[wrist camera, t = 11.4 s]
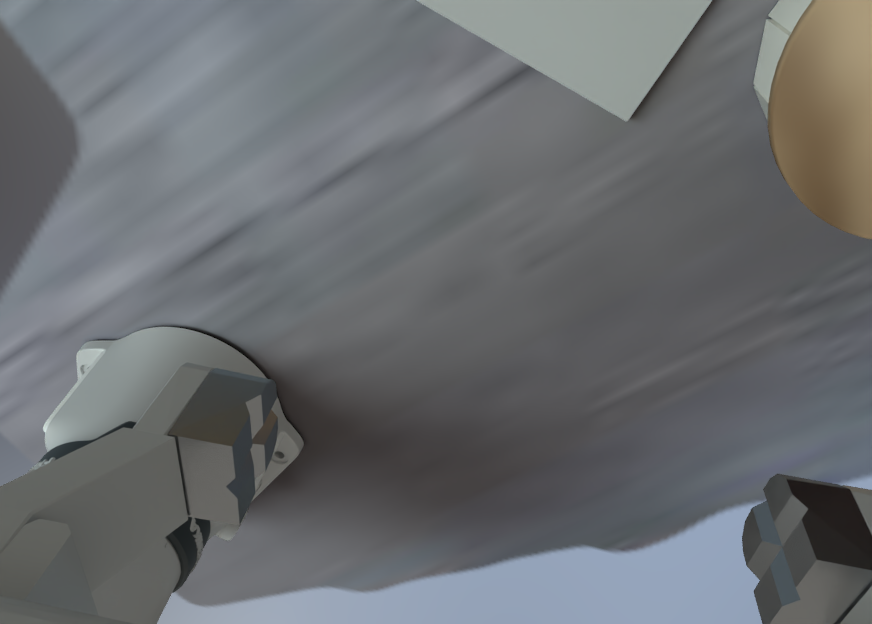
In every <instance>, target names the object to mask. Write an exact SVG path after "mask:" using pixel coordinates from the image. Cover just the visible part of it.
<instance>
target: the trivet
mask: <svg viewBox="0 0 872 624" xmlns="http://www.w3.org/2000/svg"><path fill="white" fill-rule="evenodd" d="M416 1H418V2H420V3H422V4H423V5H425V6H427V7H428V8H430V9H432V10H434V11H435V12H437V13H439V14H441V15H442V16H444V17H446V18H448V19H449V20H451V21H453V22H455V23H456V24H458V25H460V26H461V27H463V28H465V29H467V30H468V31H470V32H472V33H474V34H475V35H477V36H479V37H481V38H482V39H484V40H486V41H487V42H489V43H491V44H493V45H494V46H496V47H498V48H500V49H501V50H503V51H505V52H507V53H508V54H510V55H512V56H514V57H515V58H517V59H519V60H520V61H522V62H524V63H526V64H527V65H529V66H531V67H533V68H534V69H536V70H538V71H540V72H541V73H543V74H545V75H546V76H548V77H550V78H552V79H553V80H555V81H557V82H559V83H560V84H562V85H564V86H566V87H567V88H569V89H571V90H573V91H574V92H576V93H578V94H579V95H581V96H583V97H585V98H586V99H588V100H590V101H592V102H593V103H595V104H597V105H599V106H600V107H602V108H604V109H606V110H607V111H609V112H611V113H612V114H614V115H616V116H618V117H619V118H621V119H623V120H625V121H626V122H627V121H628V120H629V118H630V117H631V116H632V114H633V113H634V111H635V110H636V108H637V107H638V106H639V104H640V103H641V101H642V100H643V98H644V97H645V96H646V94H647V93H648V91H649V90H650V88H651V87H652V86H653V84H654V83H655V81H656V80H657V78H658V77H659V76H660V74H661V73H662V71H663V70H664V68H665V67H666V66H667V64H668V63H669V61H670V60H671V59H672V57H673V56H674V54H675V53H676V51H677V50H678V49H679V47H680V46H681V44H682V43H683V41H684V40H685V39H686V37H687V36H688V34H689V33H690V31H691V30H692V29H693V27H694V26H695V24H696V23H697V21H698V20H699V19H700V17H701V16H702V14H703V13H704V11H705V10H706V9H707V7H708V6H709V4H710V3H711V1H712V0H416Z"/></svg>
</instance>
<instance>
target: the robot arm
mask: <svg viewBox="0 0 872 624" xmlns="http://www.w3.org/2000/svg"><path fill="white" fill-rule="evenodd" d="M76 359H77V373H78V382H77V383H76V384H75V385H74V387H73V388H72V389H71V390H70V392H69V393H68V394H67V395H66V397H65V398H64V399H63V400H62V402H61V403H60V404H59V405H58V407H57V408H56V409H55V411H54V412H53V413H52V414H51V416H50V417H49V418H48V420H47V421H46V423H45V425H44V427H43V430H44V432H45V433H46V434H45V445H46V448H47V451H48V452H47V453H46V454H45V455H44V457H43V458H42V459H41V460H40V461H39V462H38V464H37V465H36V466H33V468H31V470H30V471H29V472H28V473H27V474H25V475H23V476H21V477H19V478H17V479H15V480H13V481H11V482H9V483H7V484H4V485H3V486H0V624H157V622H158V620H159V618H160V616H161V614H162V612H163V609H164V607H165V606H166V604H167V602H168V600H169V598H170V596H171V594H172V593H173V592H175V591H176V590H178V589H179V588H180V587H181V586H182V585H183V584H184V582H185V581H186V579H187V577H188V576H189V574H190V573H191V572H192V571H193V569H194V568H195V566H196V565H197V563H198V561H199V559H200V557H201V555H202V551H203V548H204V546H205V544H206V542H207V540H209V539H210V538H211V537H213V536H214V535H216V536H218V537H220V538H222V539H224V540H226V541H230V540H231V539H232V538H233V536H234V535H235V534H236V532H237V530H238V529H239V527H240V525H241V523H242V521H243V519H244V518H245V516H246V514H247V512H248V507H249V505H250V503H251V502H252V501H253V500H254V499H255V498H256V497H257V496H258V495H259V494H260V493H261V492H262V491H263V490H264V489H265V488H266V487H267V486H268V485H269V484H270V483H271V482H272V481H273V480H274V479H275V478H276V477H277V476H278V475H279V474H280V473H281V472H282V471H283V470H284V469H285V468H286V467H287V466H288V465H289V464H291V463H292V462H293V461H294V460H295V459H296V458H297V456H298V455H299V453H300V452H301V450H302V448H303V446H304V442H303V440H302V438H301V436H300V435H299V434H298V432H297V431H296V430H295V429H294V427H293V426H292V425H291V424H290V423H289V422H288V421H287V420H286V418H285V416H284V414H283V411H282V409H281V405H280V402H279V399H278V397H277V391H276V383H275V382H274V381H273V380H271V379H267V378H266V377H265V375H264V374H263V373H262V372H261V371H260V370H259V369H258V368H257V367H256V366H255V365H254V364H253V363H252V362H251V361H250V360H249V359H248V358H246V357H245V356H244V355H243V354H241V353H240V352H238V351H237V350H235V349H234V348H232V347H231V346H229V345H227V344H225V343H224V342H222V341H220V340H218V339H215V338H213V337H211V336H208V335H206V334H203V333H200V332H196V331H192V330H188V329H183V328H176V327H154V328H148V329H143V330H140V331H137V332H134V333H132V334H130V335H128V336H126V337H124V338H122V339H119V340H115V341H109V340H100V341H89V342H86V343H85V344H84V345H83V346H82V347H81V349H80V350H79V351H78V353H77V357H76ZM763 490H764V493H765V496H766V499H767V501H765V502H763V503H761V504H759V505H757V506H755V507H753V508H752V509H751V512H750V513H749V515H748V517H747V519H746V521H745V525H744V531H743V536H742V541H743V552H744V557H745V561H746V565H747V567H748V568H749V569H750V570H751V571H752V572H753V573H754V574H755V575H756V576H757V577H758V579H759V580H760V581H759V583H758V585H757V586H756V588H755V590H754V594H755V598H756V602H757V605H758V609H759V612H760V616H761V620H762V623H763V624H872V490H868V489H863V488H857V487H851V486H845V485H843V486H841V485H838V484H832V483H827V482H821V481H816V480H810V479H804V478H799V477H793V476H788V475H782V474H776V475H775V476H773V477H772V478H770V479H769V481H768V483H767V484H766V486H765V487H764V489H763Z"/></svg>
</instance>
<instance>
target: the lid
mask: <svg viewBox="0 0 872 624" xmlns="http://www.w3.org/2000/svg"><path fill="white" fill-rule="evenodd" d="M768 131H769V139H770V145H771V148H772V152H773V155H774V158H775V161H776V164H777V166H778V168H779V170H780V172H781V174H782V176H783V178H784V179H785V180H786V182H787V183H788V185H789V186H790V187H791V189H792V190H793V191H794V193H795V194H796V196H797V197H798V198H799V200H800V201H801V202H802V203H803V204H804V205H805V206H806V207H807V208H808V209H809V210H810V211H811V212H813V213H814V214H815V215H817V216H818V217H819V218H821V219H822V220H824V221H825V222H827V223H828V224H830V225H832V226H834V227H836V228H838V229H840V230H842V231H845V232H847V233H850V234H854V235H857V236H860V237H863V238H868V239H872V0H812V1H811V3H810V4H809V6H808V7H807V8H806V10H805V11H804V13H803V14H802V15H801V17H800V18H799V20H798V22H797V24H796V25H795V27H794V29H793V31H792V33H791V34H790V36H789V38H788V40H787V42H786V44H785V46H784V49H783V51H782V54H781V56H780V58H779V61H778V63H777V66H776V70H775V73H774V77H773V80H772V84H771V89H770V96H769V103H768Z"/></svg>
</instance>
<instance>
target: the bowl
mask: <svg viewBox="0 0 872 624" xmlns="http://www.w3.org/2000/svg"><path fill="white" fill-rule="evenodd" d="M811 1H812V0H779V2H778V3H777V4H776V6H775V7H774V8H773V10H772V11H771V12H770V13H769V15H768V16H769V17H771V18H772V19H766V23H765V28H764V33H763V38H762V43H761V48H760V53H759V58H758V63H757V67H756V72H755V77H754V82H753V84H754V85H755V86H754V89H755V92H756V94H757V97H758V99H759V102H760V104H761V107H762V109H763V112H764V114H765V117H766V119H767V122H768V103H769V96H770V89H771V84H772V80H773V77H774V73H775V70H776V66H777V63H778V61H779V58H780V56H781V54H782V51H783V49H784V46H785V44H786V42H787V40H788V38H789V36H790V34H791V33H792V31H793V29H794V27H795V25H796V24H797V22H798V20H799V18H800V17H801V15H802V14H803V13H804V11H805V10H806V8H807V7H808V6H809V4H810V3H811Z"/></svg>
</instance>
